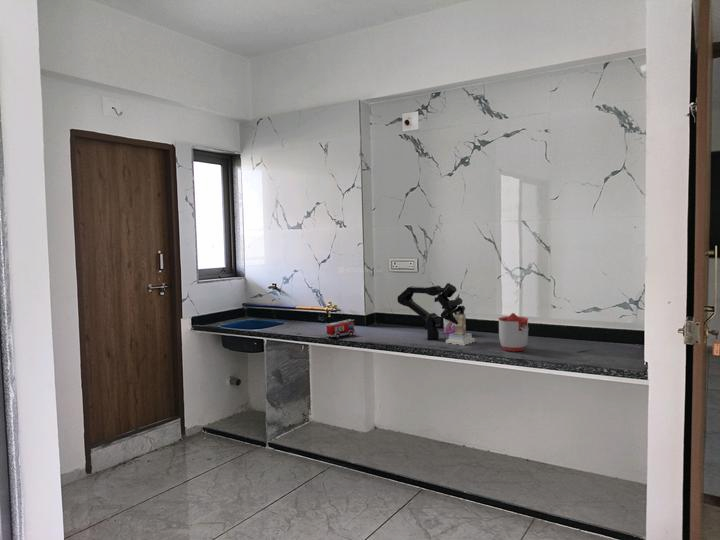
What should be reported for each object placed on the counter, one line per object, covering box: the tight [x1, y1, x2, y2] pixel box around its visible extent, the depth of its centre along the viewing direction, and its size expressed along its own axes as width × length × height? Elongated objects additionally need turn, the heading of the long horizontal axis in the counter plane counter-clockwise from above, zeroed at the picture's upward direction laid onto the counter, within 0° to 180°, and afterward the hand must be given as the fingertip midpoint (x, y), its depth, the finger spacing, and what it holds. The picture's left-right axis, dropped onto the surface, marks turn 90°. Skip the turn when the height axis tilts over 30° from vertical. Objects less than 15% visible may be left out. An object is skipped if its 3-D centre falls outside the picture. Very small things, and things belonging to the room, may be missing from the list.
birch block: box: [454, 313, 467, 336], centre depth 321 cm, size 4×4×12 cm
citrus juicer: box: [498, 312, 529, 353], centre depth 297 cm, size 16×17×20 cm
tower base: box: [445, 332, 476, 346], centre depth 321 cm, size 12×12×5 cm
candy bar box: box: [442, 309, 455, 335], centre depth 348 cm, size 11×5×16 cm, turn 35°
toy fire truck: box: [325, 318, 357, 339], centre depth 353 cm, size 9×19×10 cm, turn 125°
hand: (461, 322), depth 320 cm, fingers open, 9 cm apart
